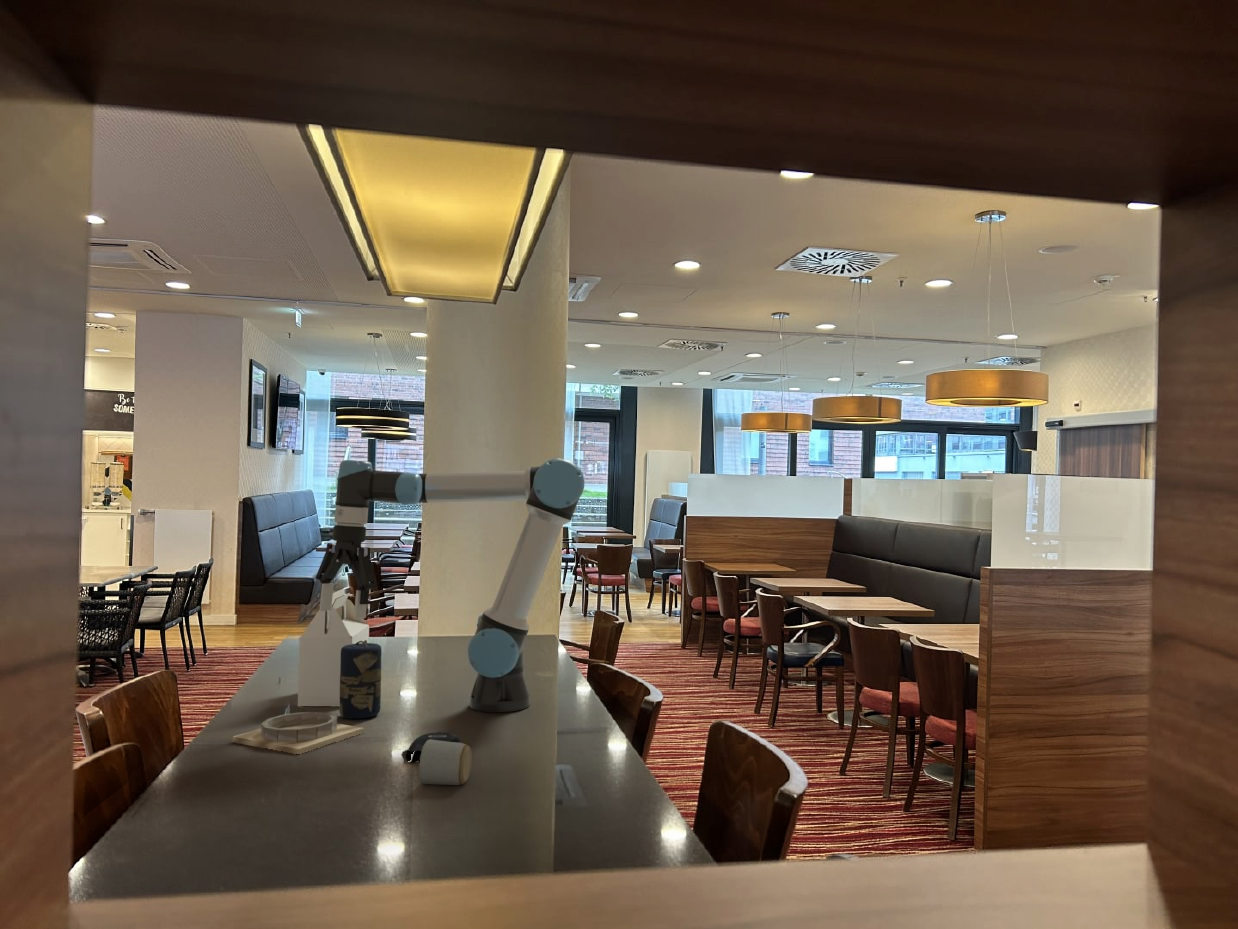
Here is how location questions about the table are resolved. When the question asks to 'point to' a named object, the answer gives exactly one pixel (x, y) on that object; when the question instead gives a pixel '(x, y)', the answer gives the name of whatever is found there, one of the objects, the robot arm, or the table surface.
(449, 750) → the ceramic mug
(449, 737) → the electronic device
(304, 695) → the gable box
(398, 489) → the robot arm
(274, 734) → the ring holder board
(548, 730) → the table surface
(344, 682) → the canister
